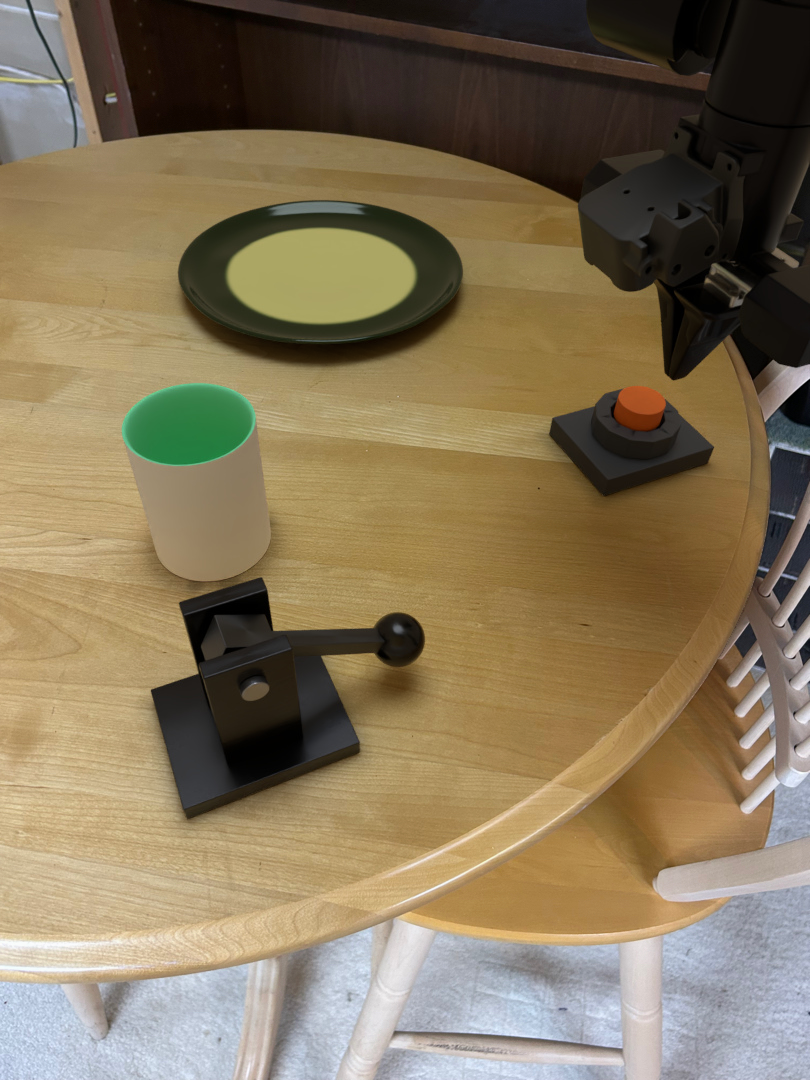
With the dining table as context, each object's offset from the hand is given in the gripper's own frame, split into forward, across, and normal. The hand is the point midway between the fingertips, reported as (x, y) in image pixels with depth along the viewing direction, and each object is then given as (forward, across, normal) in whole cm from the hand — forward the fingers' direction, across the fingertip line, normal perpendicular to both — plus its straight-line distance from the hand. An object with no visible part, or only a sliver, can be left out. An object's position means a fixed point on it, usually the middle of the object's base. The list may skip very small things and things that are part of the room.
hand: (674, 376), depth 50 cm
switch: (+13, +6, -30) cm, 33 cm away
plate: (+13, -40, -9) cm, 43 cm away
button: (+10, -7, +5) cm, 13 cm away
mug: (+13, -12, -28) cm, 33 cm away
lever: (+9, +5, -26) cm, 28 cm away
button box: (+13, -7, +5) cm, 16 cm away
